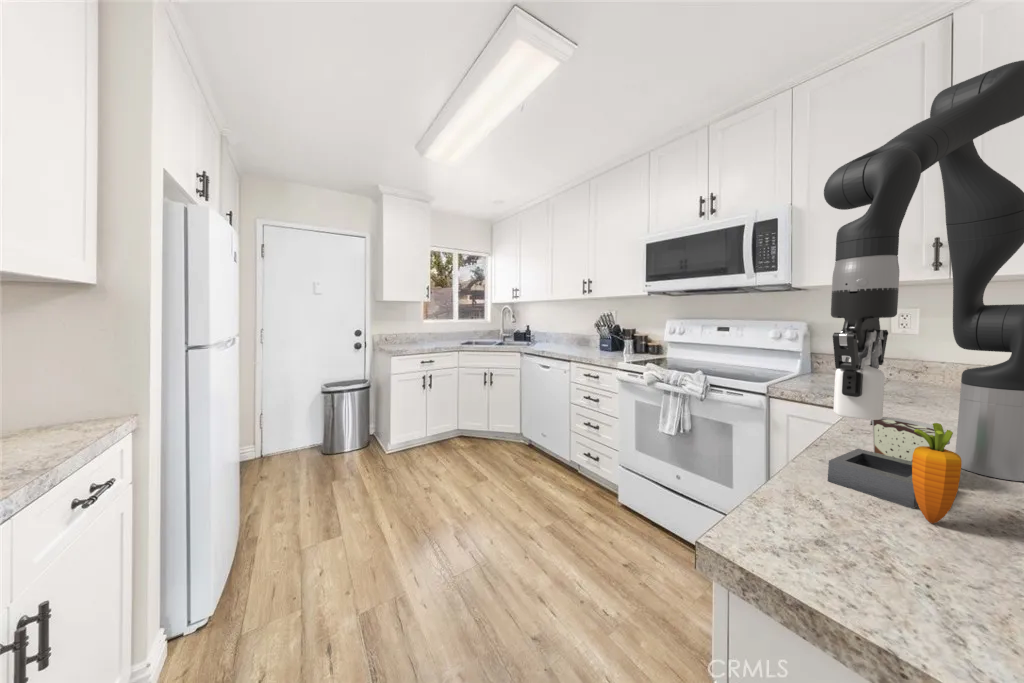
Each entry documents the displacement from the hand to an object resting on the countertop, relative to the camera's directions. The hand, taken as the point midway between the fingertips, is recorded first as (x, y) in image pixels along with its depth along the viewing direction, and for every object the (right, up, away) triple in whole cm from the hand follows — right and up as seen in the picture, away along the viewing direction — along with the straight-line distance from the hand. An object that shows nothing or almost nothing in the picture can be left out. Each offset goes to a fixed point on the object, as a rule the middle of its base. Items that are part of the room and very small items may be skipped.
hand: (858, 393), depth 57 cm
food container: (+23, -18, +13) cm, 32 cm away
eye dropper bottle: (0, -4, 0) cm, 4 cm away
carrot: (+7, -19, -4) cm, 21 cm away
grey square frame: (+12, -18, +8) cm, 23 cm away
